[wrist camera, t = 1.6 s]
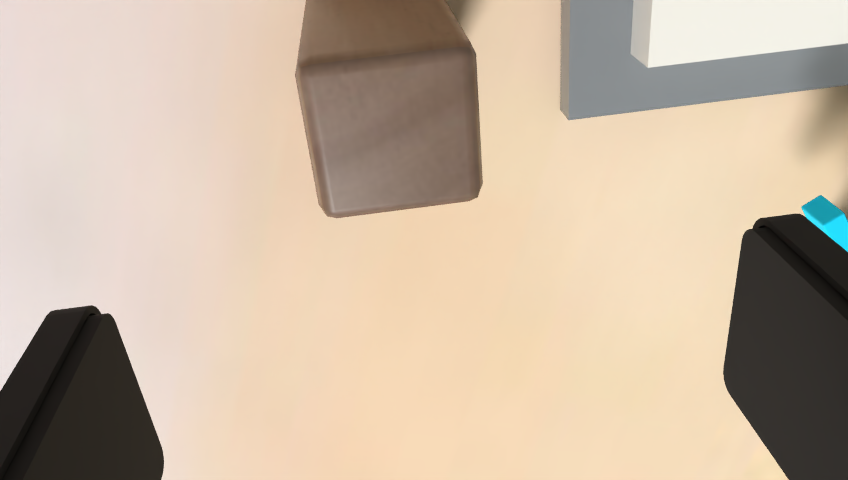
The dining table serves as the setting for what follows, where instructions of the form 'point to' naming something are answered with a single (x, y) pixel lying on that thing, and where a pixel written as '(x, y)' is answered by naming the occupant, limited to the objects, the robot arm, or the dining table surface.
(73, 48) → the dining table surface
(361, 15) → the wooden block
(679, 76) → the baseplate
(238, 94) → the dining table surface
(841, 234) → the gear mechanism
